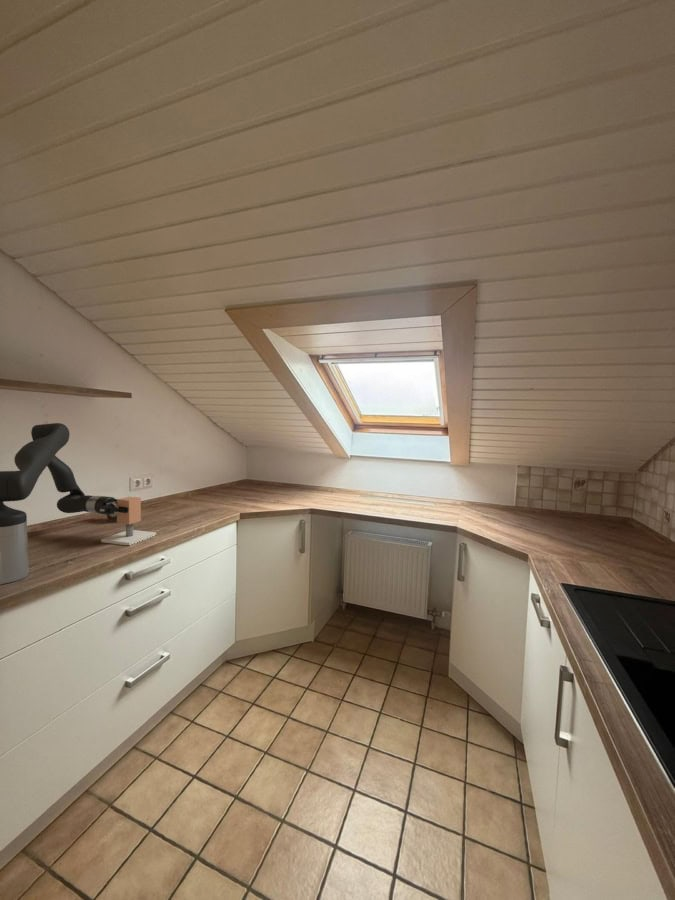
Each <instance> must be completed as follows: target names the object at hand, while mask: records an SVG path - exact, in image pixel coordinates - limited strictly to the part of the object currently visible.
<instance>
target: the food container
mask: <svg viewBox="0 0 675 900" xmlns="http://www.w3.org/2000/svg"><path fill="white" fill-rule="evenodd" d="M115 499H116V500H117V499H118V498H115ZM106 520H107V521H109V520H110V522H112V521H114V522H113V523H116V522H117V513H114V514H110V515H106Z"/></svg>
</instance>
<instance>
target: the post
mask: <svg viewBox="0 0 675 900" xmlns="http://www.w3.org/2000/svg"><path fill="white" fill-rule="evenodd" d="M155 535H156V536H157V532H156V531H155V532H153V531H145V530H138V529H137V530H136V529H134V523H133V524H130V525H128V524H125V530H124V531H121V532H119V533H116V534H112V535H109V536H106V537H104V538H101V539H100V542H101V543H103V544H104V543H106V544H114V545H119V546H127V545H130V546H132V545H131V544H133V545H135V544H137V542H138V543H140V542H143V541H146V540H148V539H150V537H151V538H152V536H153V537H156V536H155ZM147 538H148V539H147ZM142 540H143V541H142ZM139 541H140V542H139ZM134 543H135V544H134Z"/></svg>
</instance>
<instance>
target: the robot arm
mask: <svg viewBox="0 0 675 900" xmlns="http://www.w3.org/2000/svg"><path fill="white" fill-rule="evenodd" d="M30 433H31V434H30V435H31V438H32V440H31V441H29V442H28V443H26V444H24V445H23V446H22V447H21V448H20V449H19V450H18V451H17V452H16V454H15V455H14V457H13V458H14V459H13V460H14V461H13V462H14V464H15V467H17V469H18V470H4V471H3V470H2V471H1V470H0V586H1V585H4V584H8V583H13V582H17V581H19V580H22V579H24V578H26V577H27V576H28V575H29V549H28V548H29V547H28V544H29V543H28V519H27V518H28V517H27V513H26V512H25V511H23V510H20V509H15V508H12V507H10V506H8V505H6V504H5V502H18V501H19V502H20V501H23V500H26V499H27V498H28V497H29V496H30V495H31V494H32V492H33V490H34V488H35V486H36V484H37V482H38V480H39V478H40V476H41V475H42V473H43V471H44V470H45V469H46V468H48V470H49V473H50V474H51V475H50V476H51V477H52V479H53V483H54V485H55V488H56V491H57V492H58V493H62V494H63V493H68V492H69V494H66V495H65V496H63V497H61V498H59V499H58V500H57V502H56V507H57V509H58V510H59V511H60V512H62V513H65V514H74V513H82V512H84V513H85V512H87V513H92V514H98V515H106V516H107V515H110V514H114V513H119V512H121V513H128V508H127V507H119V506H117V500H116V499H117V498H116V497H113V496H105V495H90V494H89V495H88V494H87V495H86V494H85V493H84V491H83V490H82V489H81V487H80V486H79V484H77V480H76V478H75V475H74V472H73V470H72V469H71V467H69V465H67V464H66V462H64V461H63V460H61V459H60V458H59V457H57V455H56V454H57V453H58V452H59V451H60V450H61V449H62V448H63V447H65V446H66V445H67V443H68V442H69V440H70V434H71V433H70V430H69V428H68V426H67V425H65V424H63V423H59V422H53V423H52V422H51V423H44V424H43V423H42V424H35V425H34V426H32V428H31V431H30Z"/></svg>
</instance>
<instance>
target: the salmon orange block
mask: <svg viewBox="0 0 675 900" xmlns="http://www.w3.org/2000/svg"><path fill="white" fill-rule="evenodd" d="M116 499H117V506H119V507H127V508H128V513H121V512H119V513H117V523H116V524H121V525H126V524H128V525H130V524H133V525H134V524H136V523H139V522H141V521H142V509H141V508H142V503H141V502H142V501H141V499H142V498H141V497H137V496H136V497H135V496H126V497H123V498H116Z"/></svg>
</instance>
